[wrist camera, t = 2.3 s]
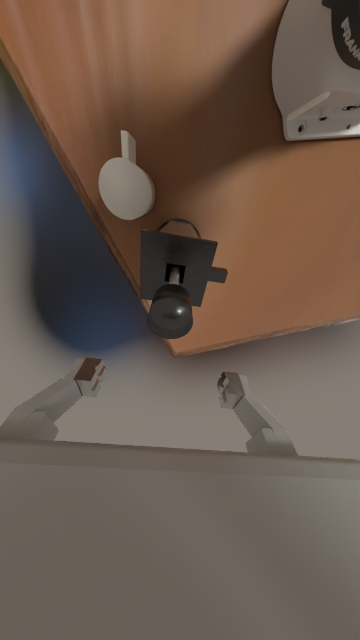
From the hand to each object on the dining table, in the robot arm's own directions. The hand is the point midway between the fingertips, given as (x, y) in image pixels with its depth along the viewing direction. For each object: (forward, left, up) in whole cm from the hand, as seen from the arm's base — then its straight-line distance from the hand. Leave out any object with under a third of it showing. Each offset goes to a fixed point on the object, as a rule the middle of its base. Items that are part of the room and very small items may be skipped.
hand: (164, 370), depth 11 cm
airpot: (-2, 0, -36) cm, 36 cm away
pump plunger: (0, 0, -26) cm, 26 cm away
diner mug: (+10, -10, -36) cm, 39 cm away
